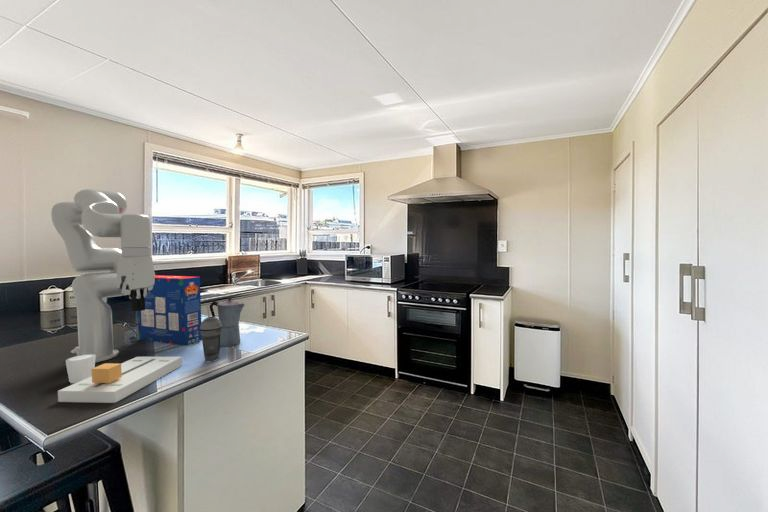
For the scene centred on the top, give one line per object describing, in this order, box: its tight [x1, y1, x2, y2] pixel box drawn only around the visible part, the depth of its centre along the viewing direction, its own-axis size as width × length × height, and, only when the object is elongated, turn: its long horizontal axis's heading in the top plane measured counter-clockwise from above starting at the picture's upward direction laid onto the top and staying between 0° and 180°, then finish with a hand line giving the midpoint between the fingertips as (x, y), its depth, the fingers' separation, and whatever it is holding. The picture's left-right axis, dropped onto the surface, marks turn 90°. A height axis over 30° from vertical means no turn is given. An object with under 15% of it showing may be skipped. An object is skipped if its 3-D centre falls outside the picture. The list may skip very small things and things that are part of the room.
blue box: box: [137, 274, 202, 347], centre depth 140 cm, size 28×8×28 cm, turn 71°
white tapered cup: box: [65, 354, 96, 384], centre depth 100 cm, size 7×7×7 cm
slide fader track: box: [57, 356, 183, 404], centre depth 98 cm, size 16×26×3 cm, turn 177°
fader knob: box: [92, 362, 122, 383], centre depth 91 cm, size 5×4×4 cm
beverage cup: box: [199, 304, 222, 362], centre depth 116 cm, size 7×7×20 cm
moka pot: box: [209, 296, 246, 347], centre depth 134 cm, size 10×15×20 cm, turn 89°
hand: (138, 310), depth 102 cm, fingers closed
